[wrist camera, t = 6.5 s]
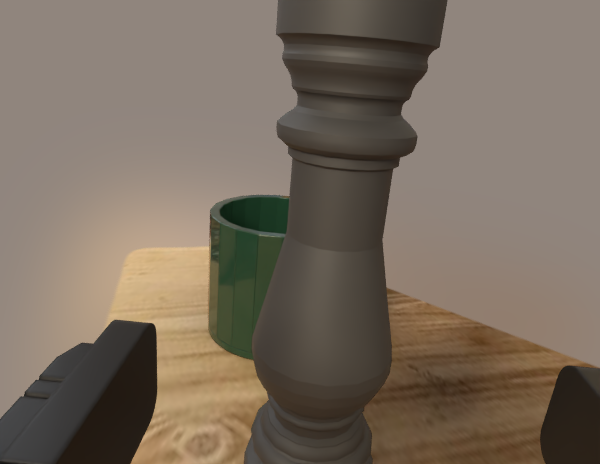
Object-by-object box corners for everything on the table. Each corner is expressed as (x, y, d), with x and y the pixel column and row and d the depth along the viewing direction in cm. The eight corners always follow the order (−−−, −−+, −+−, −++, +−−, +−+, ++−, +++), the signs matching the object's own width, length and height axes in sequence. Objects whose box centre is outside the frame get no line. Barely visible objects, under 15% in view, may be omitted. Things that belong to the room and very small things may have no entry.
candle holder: (216, 502, 24) (235, -74, 15) (301, 441, 28) (352, -35, 20) (305, 599, 20) (396, -106, 11) (389, 510, 24) (499, -48, 16)
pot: (349, 314, 43) (363, 209, 40) (306, 378, 34) (320, 248, 30) (246, 286, 47) (251, 188, 43) (181, 337, 37) (181, 217, 34)
